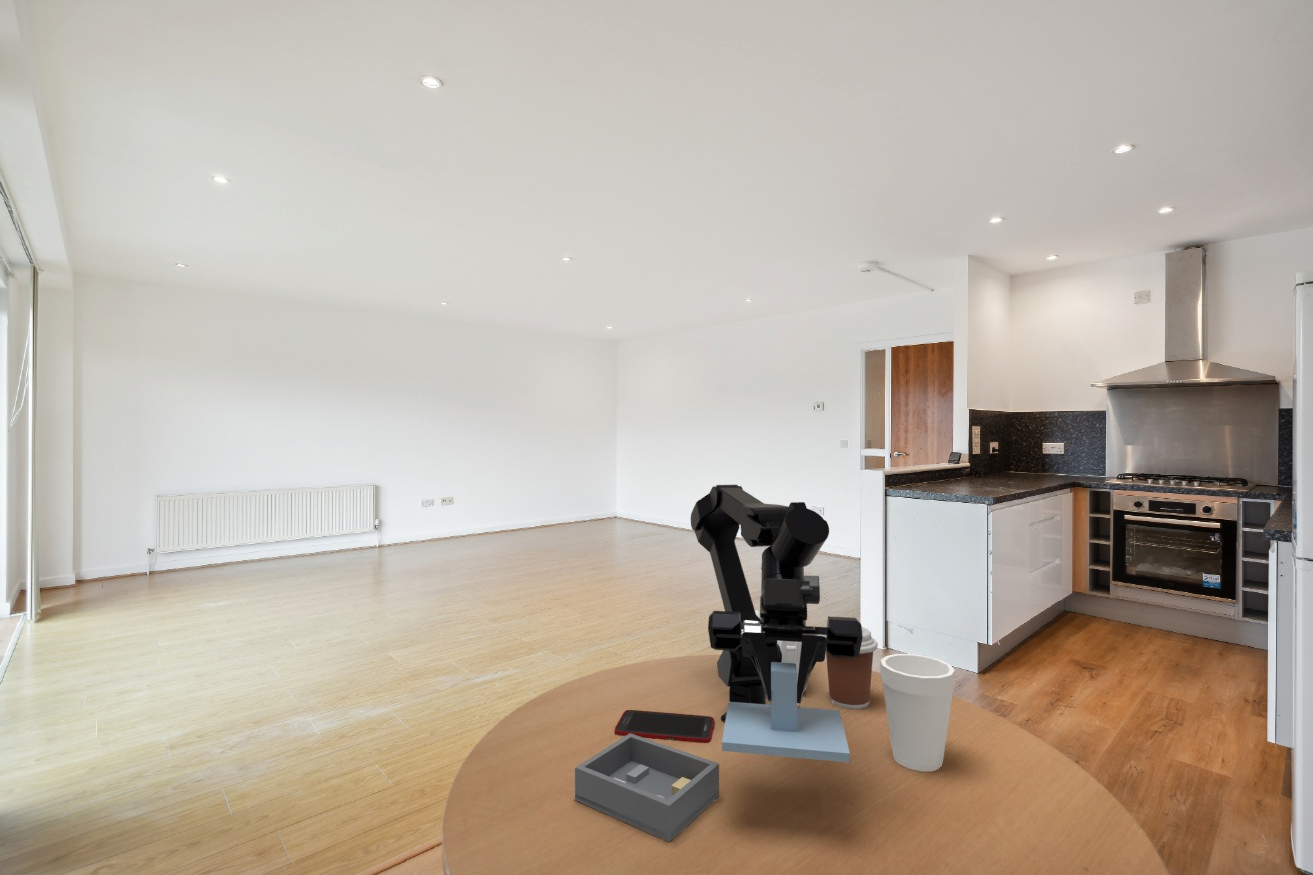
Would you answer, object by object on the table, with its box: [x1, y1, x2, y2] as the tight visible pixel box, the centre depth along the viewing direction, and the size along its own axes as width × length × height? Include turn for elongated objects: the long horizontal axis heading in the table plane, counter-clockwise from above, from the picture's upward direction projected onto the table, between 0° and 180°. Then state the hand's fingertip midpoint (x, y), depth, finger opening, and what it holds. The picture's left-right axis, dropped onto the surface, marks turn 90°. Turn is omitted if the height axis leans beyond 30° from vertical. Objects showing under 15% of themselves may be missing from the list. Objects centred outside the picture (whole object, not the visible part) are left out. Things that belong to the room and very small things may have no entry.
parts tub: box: [574, 733, 720, 843], centre depth 77 cm, size 11×14×4 cm
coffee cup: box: [825, 626, 879, 710], centre depth 106 cm, size 9×9×12 cm
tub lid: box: [721, 662, 851, 764], centre depth 75 cm, size 11×14×8 cm
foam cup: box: [880, 653, 956, 773], centre depth 86 cm, size 10×9×13 cm
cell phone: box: [613, 709, 716, 744], centre depth 96 cm, size 8×15×1 cm, turn 79°
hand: (784, 700), depth 73 cm, fingers closed on tub lid, 3 cm apart
